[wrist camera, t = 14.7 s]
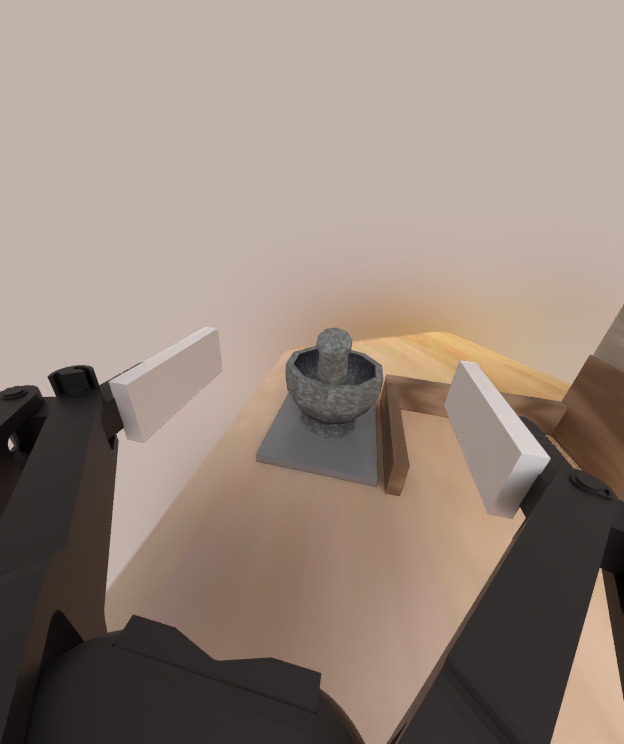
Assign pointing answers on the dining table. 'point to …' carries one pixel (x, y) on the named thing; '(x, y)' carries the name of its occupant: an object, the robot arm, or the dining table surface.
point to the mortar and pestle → (332, 384)
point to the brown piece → (533, 415)
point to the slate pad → (322, 447)
